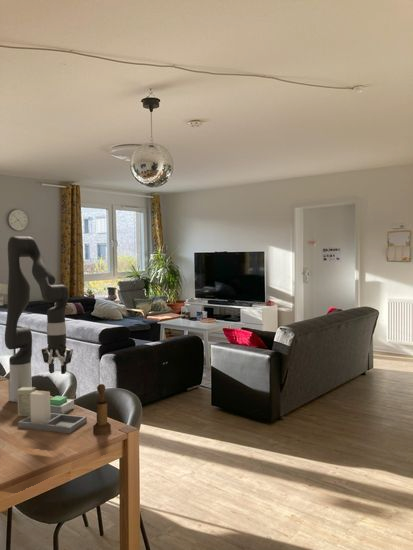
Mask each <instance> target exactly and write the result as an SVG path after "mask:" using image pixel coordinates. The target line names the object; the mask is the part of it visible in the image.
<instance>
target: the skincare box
mask: <svg viewBox="0 0 413 550" xmlns="http://www.w3.org/2000/svg"><path fill="white" fill-rule="evenodd" d="M36 389H37V387H35V386H32V387H22V388H20V389H18V390H17V402H16V403H17V412H18V413H17V415H18V417H28V416H30V415H31V405H30V393H32V392H35V391H37V390H36Z"/></svg>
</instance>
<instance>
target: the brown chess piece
mask: <svg viewBox="0 0 413 550" xmlns="http://www.w3.org/2000/svg"><path fill="white" fill-rule="evenodd" d="M96 389H97V392H98V394H99V395H98V401H96V404H95V405H96V406H95V407H96V422H95V424H94V425H93V427H92V430H93V431H92V432H93V434H95V435H98V436H99V435H100V436H101V435H102V436H104V435H106V434H110V433H111V432H112V429H111V428H112V424H111V423H110V422H108V401H105V395H104V393H105V391H106V386H105V384H103V383H99V384H98V385H97V387H96Z"/></svg>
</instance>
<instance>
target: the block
mask: <svg viewBox="0 0 413 550" xmlns="http://www.w3.org/2000/svg"><path fill="white" fill-rule="evenodd" d="M50 399H51V392H50V391H48V390H47V391H45V390H36V391H35V392H32V393H30V405H31V423H40V424H45V423H46V422H48V421H50V420H51V412H50Z"/></svg>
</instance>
